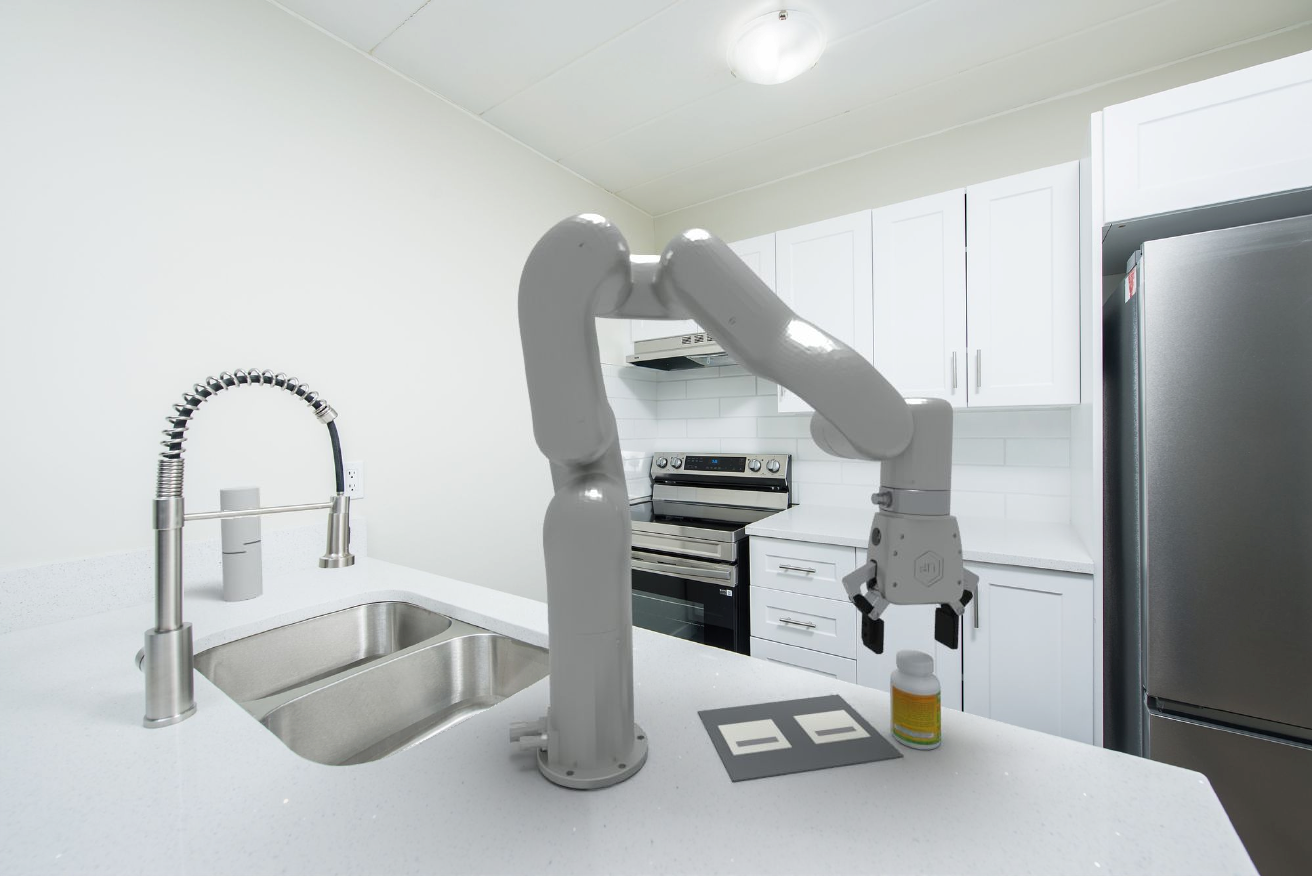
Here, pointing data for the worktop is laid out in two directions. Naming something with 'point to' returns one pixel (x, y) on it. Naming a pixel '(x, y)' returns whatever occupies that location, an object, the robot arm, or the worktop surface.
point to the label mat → (793, 737)
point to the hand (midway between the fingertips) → (909, 647)
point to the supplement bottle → (915, 701)
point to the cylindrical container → (241, 545)
